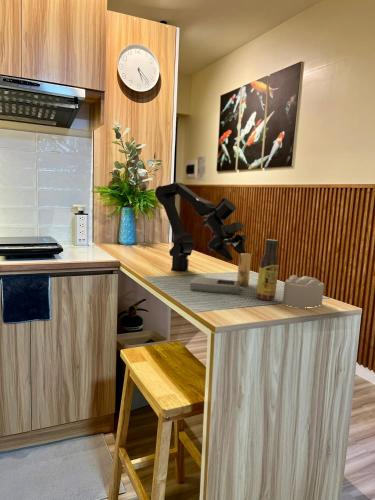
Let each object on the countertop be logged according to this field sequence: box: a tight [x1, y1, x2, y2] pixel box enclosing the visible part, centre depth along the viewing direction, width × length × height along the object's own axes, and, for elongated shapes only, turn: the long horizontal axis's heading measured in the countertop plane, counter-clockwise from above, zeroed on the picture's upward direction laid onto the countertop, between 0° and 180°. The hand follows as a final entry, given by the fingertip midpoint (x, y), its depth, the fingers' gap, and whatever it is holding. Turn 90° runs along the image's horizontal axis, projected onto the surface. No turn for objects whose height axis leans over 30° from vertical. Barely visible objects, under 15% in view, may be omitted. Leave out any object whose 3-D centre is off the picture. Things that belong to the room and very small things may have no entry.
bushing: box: [236, 252, 252, 288], centre depth 140 cm, size 4×4×12 cm
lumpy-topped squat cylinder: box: [282, 274, 325, 309], centre depth 120 cm, size 10×13×9 cm
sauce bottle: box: [255, 238, 280, 301], centre depth 123 cm, size 6×6×20 cm
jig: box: [189, 276, 241, 295], centre depth 133 cm, size 17×10×2 cm, turn 80°
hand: (239, 259), depth 141 cm, fingers open, 9 cm apart
